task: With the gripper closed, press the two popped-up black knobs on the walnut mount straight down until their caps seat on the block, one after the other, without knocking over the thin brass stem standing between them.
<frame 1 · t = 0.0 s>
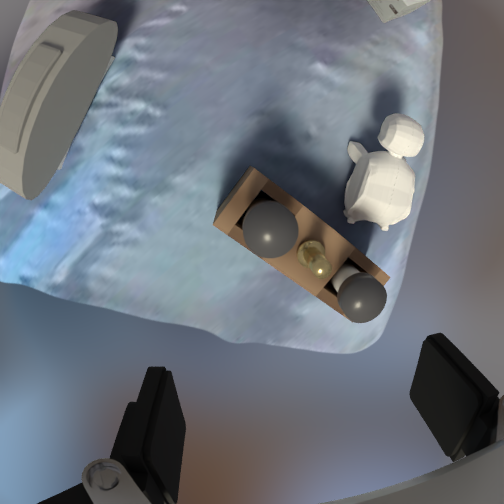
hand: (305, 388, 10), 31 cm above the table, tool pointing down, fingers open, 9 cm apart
skincare box: (385, 3, 32), on the table
knob 2: (265, 221, 32), point 8 cm above the table, slide at 0.0 cm
walnut mount: (296, 234, 41), on the table
alarm clock: (72, 107, 34), on the table
brass stem: (310, 253, 34), point 8 cm above the table, touching walnut mount
white lumpy legged piece: (372, 170, 40), on the table
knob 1: (350, 284, 34), point 8 cm above the table, slide at 0.0 cm
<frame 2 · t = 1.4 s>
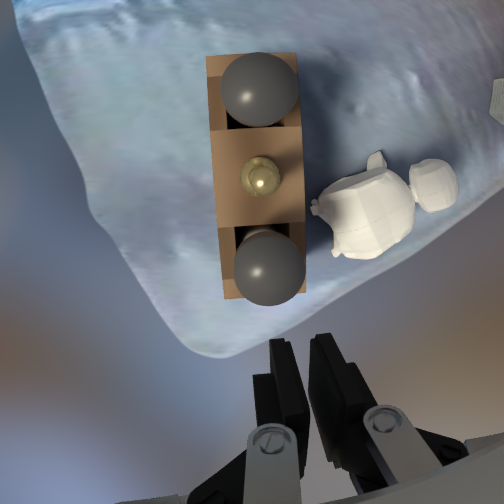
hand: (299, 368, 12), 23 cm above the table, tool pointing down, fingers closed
skincare box: (502, 106, 30), on the table
knob 2: (254, 99, 22), point 8 cm above the table, slide at 0.0 cm
walnut mount: (252, 171, 32), on the table
brass stem: (259, 176, 24), point 8 cm above the table, touching walnut mount
white lumpy legged piece: (371, 196, 34), on the table
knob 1: (263, 253, 25), point 8 cm above the table, slide at 0.0 cm
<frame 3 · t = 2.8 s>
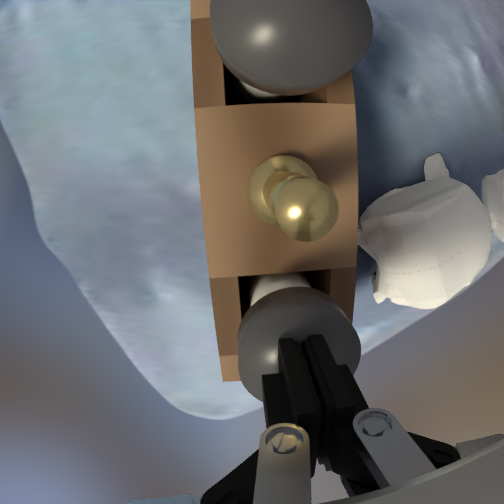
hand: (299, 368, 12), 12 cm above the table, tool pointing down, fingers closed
knob 2: (275, 52, 11), point 8 cm above the table, slide at 0.0 cm
walnut mount: (264, 176, 21), on the table
brass stem: (282, 190, 14), point 8 cm above the table, touching walnut mount
white lumpy legged piece: (424, 214, 23), on the table
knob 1: (284, 310, 16), point 8 cm above the table, slide at 1.0 cm, touching gripper
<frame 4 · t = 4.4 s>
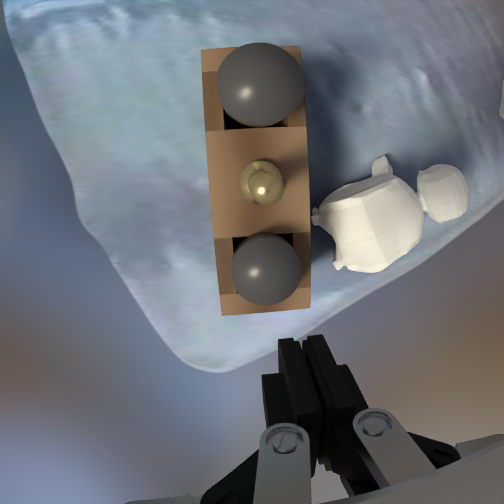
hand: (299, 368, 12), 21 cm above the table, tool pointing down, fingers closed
knob 2: (255, 96, 20), point 8 cm above the table, slide at 0.0 cm
walnut mount: (252, 175, 30), on the table
brass stem: (259, 182, 22), point 8 cm above the table, touching walnut mount
white lumpy legged piece: (375, 203, 31), on the table
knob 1: (261, 254, 26), point 5 cm above the table, slide at 3.0 cm, touching walnut mount
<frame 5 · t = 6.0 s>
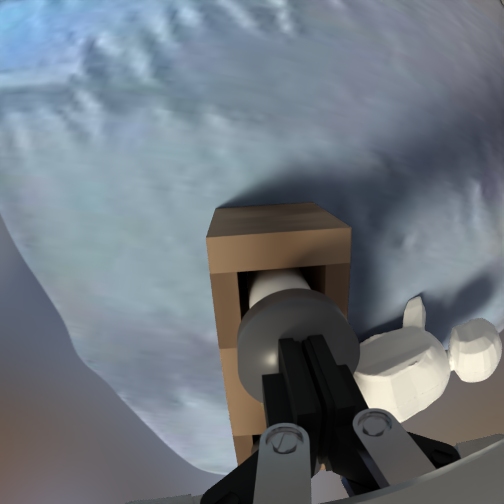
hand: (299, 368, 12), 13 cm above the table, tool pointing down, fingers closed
knob 2: (284, 311, 16), point 8 cm above the table, slide at 0.2 cm, touching gripper
walnut mount: (270, 328, 26), on the table
white lumpy legged piece: (400, 341, 27), on the table
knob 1: (280, 426, 22), point 5 cm above the table, slide at 3.0 cm, touching walnut mount
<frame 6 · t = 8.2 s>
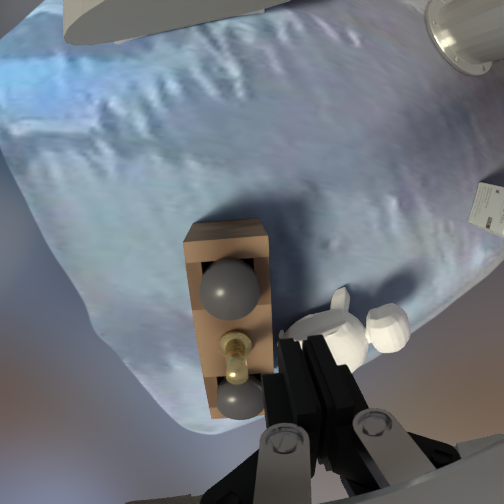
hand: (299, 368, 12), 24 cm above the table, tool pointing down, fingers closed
skincare box: (484, 208, 36), on the table
knob 2: (229, 274, 30), point 5 cm above the table, slide at 3.0 cm, touching walnut mount
walnut mount: (233, 306, 37), on the table
alarm clock: (185, 8, 27), on the table
brass stem: (235, 343, 29), point 8 cm above the table, touching walnut mount
white lumpy legged piece: (334, 322, 39), on the table
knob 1: (239, 376, 33), point 5 cm above the table, slide at 3.0 cm, touching walnut mount
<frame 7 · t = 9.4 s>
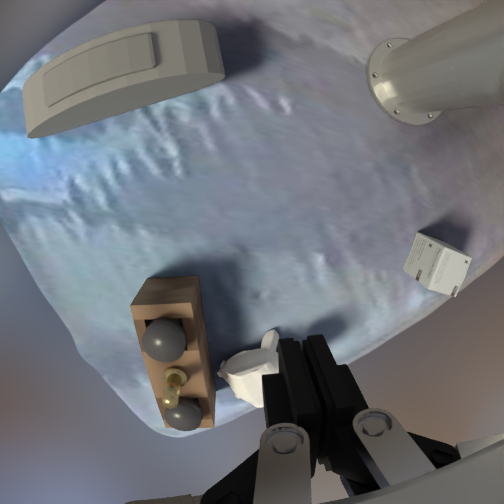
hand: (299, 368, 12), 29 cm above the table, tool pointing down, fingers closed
skincare box: (423, 255, 43), on the table
knob 2: (169, 324, 37), point 5 cm above the table, slide at 3.0 cm, touching walnut mount
walnut mount: (183, 341, 44), on the table
alarm clock: (131, 89, 34), on the table
brass stem: (175, 375, 36), point 8 cm above the table, touching walnut mount
white lumpy legged piece: (269, 355, 46), on the table
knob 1: (186, 397, 41), point 5 cm above the table, slide at 3.0 cm, touching walnut mount
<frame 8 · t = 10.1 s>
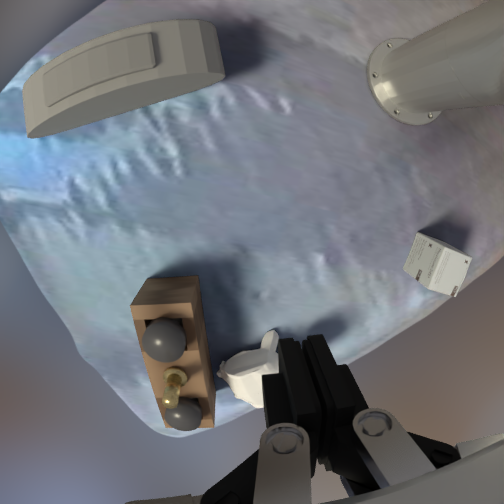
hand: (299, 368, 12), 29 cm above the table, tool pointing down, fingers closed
skincare box: (423, 255, 43), on the table
knob 2: (169, 324, 37), point 5 cm above the table, slide at 3.0 cm, touching walnut mount
walnut mount: (183, 341, 44), on the table
alarm clock: (131, 89, 34), on the table
brass stem: (175, 375, 36), point 8 cm above the table, touching walnut mount
white lumpy legged piece: (268, 356, 46), on the table
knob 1: (186, 397, 41), point 5 cm above the table, slide at 3.0 cm, touching walnut mount
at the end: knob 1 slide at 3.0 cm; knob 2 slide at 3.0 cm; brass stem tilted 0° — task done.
